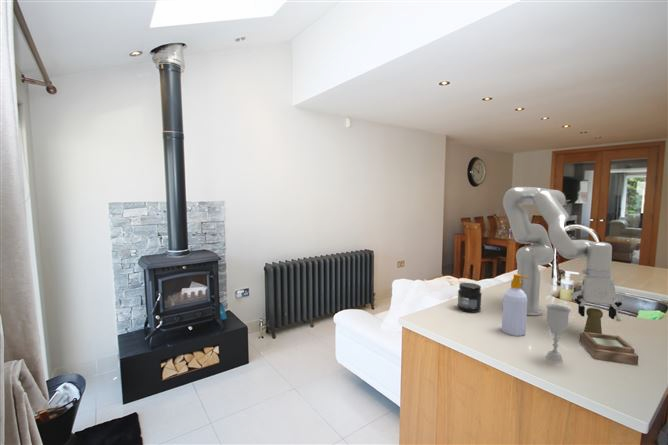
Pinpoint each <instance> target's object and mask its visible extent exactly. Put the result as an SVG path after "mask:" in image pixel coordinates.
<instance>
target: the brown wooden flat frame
mask: <svg viewBox="0 0 668 445" xmlns="http://www.w3.org/2000/svg"><path fill="white" fill-rule="evenodd" d="M578 341H579V343H580V344H581V345H582V346H583V347H584V348H585V350H586V351H587V352H588V353H589V354H590V356H591V357H592V358H593V359H595V360H603V361H608V362H615V363H623V364H628V365H629V364H630V365H639V354H637V353H636V352H635V348H634V347H632V345H630V344H629V343H628V342H627V341H626V340H624V339H623V338H622V337H620V336H619V335H612V334H603V333H602V334H598V333H589V332H584V331H583V332H582V333H579V339H578Z"/></svg>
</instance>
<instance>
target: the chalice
mask: <svg viewBox="0 0 668 445" xmlns="http://www.w3.org/2000/svg"><path fill="white" fill-rule="evenodd" d="M545 307H546V309H547V311H546V322H547V325H548V328H549V330H550V332H551V334H553V335H554V337H553V338H552V340H553V343H552V346H553V349H551V350H550V351H548V353H546V356H545V358H546V359H547V361H548V360H549V361H551V362H553V363H557V364H558V363H560V364H562V363H564V359H563V357H562V354H561V353H560V352H559V351H558V347H559V345H558V342H559V336H561V335H562V334H563V333H564V332H565V330H566V328H567V327H568V325H569V315H570V312H571V308H569V307H567V306H565V305H562V304H561V305H560V304H557V303H556V304H555V303H547V304H545Z"/></svg>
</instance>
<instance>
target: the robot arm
mask: <svg viewBox="0 0 668 445" xmlns="http://www.w3.org/2000/svg"><path fill="white" fill-rule="evenodd" d="M566 201H567V200H566V195H565V194H564V192H562V191H561V190H557V189H549V188H543V187H535V186H533V187H532V186H515V187H511V188H510V189H508V190H507V191H506V192H505V194H504V196H503V199H502V206H503V210H504V212H505V214H506V216H507V219H508V222H509V226H510V230H511V232H512V236H513V239H514V241H515V242H516V243H518V244H530V245H523V246H522V247H520V248H519V249H517V251H516V253H515V260H516V268H517V269H516V271H517V272H516V274H519V275H521V276H526V277H529V279H527V278H519V280H520V282H521V290H522V291H524V293H525V294H526V296H527V315H526V316H536V317H537V316H542V314H543V310H542V309H541V308H539V307H540V306H539V304H540V292H541V291H540V290H541V272H540V271H541V270H540V268H539V266H544V265H548V264H551V262H553V261H554V257H555V256H554V255H555V253H554V249H555V250H556V252H557V253H558V255H560V256H561V257H563V258H564V259H567V260H575V259H583V258H585V259H586V268H585V269H582V270H581V274H584V276H583V279H582V281H581V282H582V283H581V287H580V288H581V289H580V290H578V291H575V292H572V293H570V296H571V298H572V299H573V301H574V302H575V303H576V304H577V305H578V307H577V308H578V311H577V312H578V314H579V315H580V316H581V317H585V313H586V311H585V310H586V307H585V306H584V305H586V304H598V305H610V307H608V318H610V319H612V320H615V318H616V317H617V314H616V309H618V307H619V306H620V307H622V305H623V304H624V302H625V301H626V298H625V297H623V296H622V295H619V294H618V293H616V285H615V281H614V278H613V277H612V258H613V256H612V255H613V254H612V253H613V245H612V244H611V243H608V242H605V241H592V240H588V239H571V237H570V236H569V234H568V233H567V232H566V229H565V224H566V222H567V221H568V220H569V219H570V215H569V214H568V212H567V211H566V210H565V208H564V205H565V203H566ZM523 205H534V206H535V207H536V210H538V212H539V213H540V214H539V215H541V216H542V218H543V219H544V221H545V223H546V224H547V226H548V229H547V230H546V228H545V227H544V226H543V225H542V224H539V223H532V222H531V221H530V218H529V214H528V213H527V211H526V210H525V209H524V207H523ZM552 246H553V247H554V249H553V247H552ZM579 296H580V299H578V297H579ZM616 299H618V300H617V301H616Z"/></svg>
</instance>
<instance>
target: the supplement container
mask: <svg viewBox="0 0 668 445" xmlns="http://www.w3.org/2000/svg"><path fill="white" fill-rule="evenodd" d="M458 288H459V289H458V291H457V293H458V294H457V308H458V309H459V310H461V311H462V312H465V313H471V314H473V313H474V314H475V313H479V312H480V311H481V309H482V292H481V291H482V288H481V285H479V284H477V283H473V282H461V283H459V286H458Z"/></svg>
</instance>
